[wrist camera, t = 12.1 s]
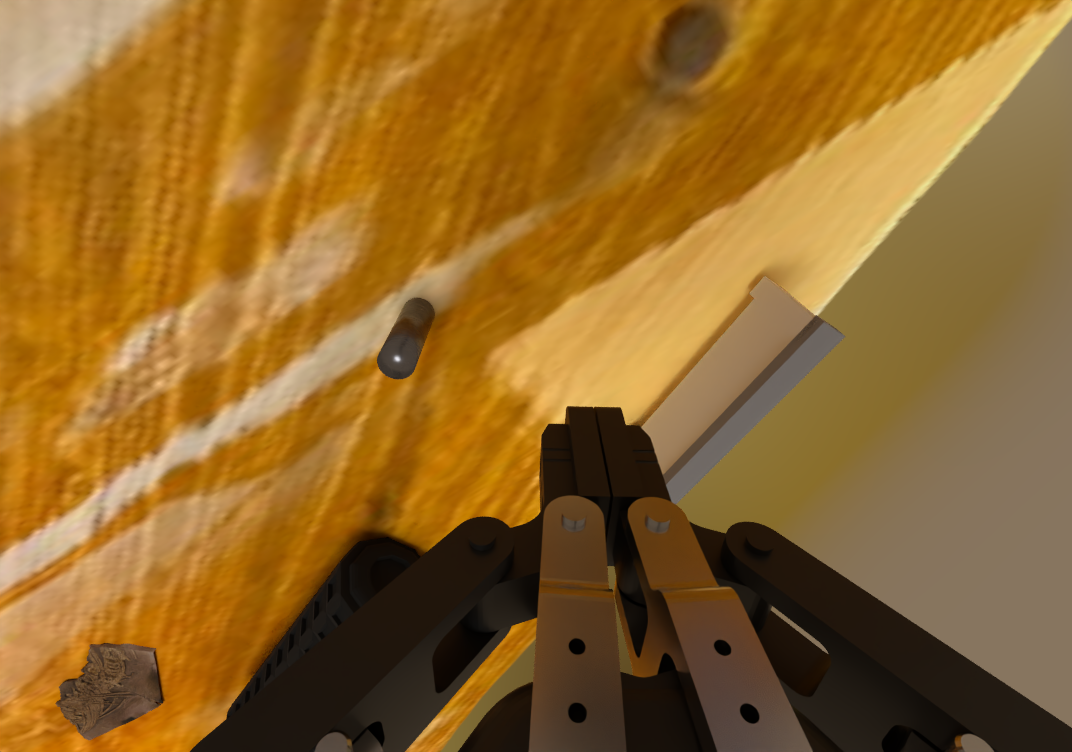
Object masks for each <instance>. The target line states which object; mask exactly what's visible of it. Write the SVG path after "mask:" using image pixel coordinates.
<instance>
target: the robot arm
mask: <svg viewBox="0 0 1072 752" xmlns="http://www.w3.org/2000/svg"><path fill="white" fill-rule="evenodd" d="M539 478H540V511H541V512H540V513H539V515H538V516H537V517H536V518H534V519H533V520H531V521H530V522H528V523H526V524H523V525H520V526H516V527H512V528H510V527H509V526H508V525H507V524H506V523H504V522H503V521H501V520H499V519H496V518H492V517H476V518H472V519H469V520H467V521H465V522H463V523H462V524H460V525H459V526H458V527H456V528H455V529H454V530H453V531H452V532H450V533H449V534H448V535H447V536H446V537H444V538H443V539H442V540H441V541H440V542H438V543H437V544H436V545H435V546H434V547H432V548H431V549H430V550H429V551H428V552H426V553H425V554H424V555H423V556H422V557H420V558H419V559H418V560H417V561H416V562H414V563H413V564H412V565H411V566H410V567H408V568H407V569H406V570H405V571H404V572H402V573H401V574H400V575H399V576H398V577H396V578H395V579H394V580H393V581H392V582H390V583H389V584H388V585H387V586H386V587H384V588H383V589H382V590H381V591H380V592H378V593H377V594H376V595H375V596H374V597H372V598H371V599H370V600H369V601H368V602H367V603H365V604H364V605H363V606H362V607H361V608H359V609H358V610H357V611H356V612H355V613H353V614H352V615H351V616H350V617H349V618H347V619H346V620H345V621H344V622H343V623H341V624H340V625H339V626H338V627H337V628H335V629H334V630H333V631H332V632H331V633H329V634H328V635H327V636H326V637H325V638H323V639H322V640H321V641H320V642H319V643H317V644H316V645H315V646H314V647H313V648H311V649H310V650H309V651H308V652H307V653H305V654H304V655H303V656H302V657H301V658H299V659H298V660H297V661H296V662H295V663H293V664H292V665H291V666H290V667H289V668H287V669H286V670H285V671H284V672H283V673H281V674H280V675H279V676H278V677H277V678H275V679H274V680H273V681H272V682H271V683H269V684H268V685H267V686H266V687H265V688H263V689H262V690H261V691H260V692H259V693H257V694H256V695H255V696H254V697H253V698H251V699H250V700H249V701H248V702H247V703H245V704H244V705H243V706H242V707H241V708H239V709H238V710H237V711H236V712H235V713H233V714H232V715H231V716H230V717H229V718H227V719H226V720H225V721H224V722H223V723H221V724H220V725H219V726H218V727H217V728H215V729H214V730H213V731H212V732H211V733H209V734H208V735H207V736H206V737H205V738H203V739H202V740H201V741H200V742H199V743H198V744H197V745H196V746H195V747H194V748H193V749H192V750H191V751H190V752H405V751H406V750H407V749H408V748H409V746H410V745H411V744H412V743H413V742H414V741H415V740H416V738H417V737H418V736H419V735H420V734H421V733H422V731H423V730H424V729H425V728H426V727H427V726H428V725H429V723H430V722H431V721H432V720H433V719H434V718H435V717H436V715H437V714H438V713H439V712H440V711H441V710H442V709H443V707H444V706H445V705H446V704H447V703H448V702H449V701H450V699H451V698H452V697H453V696H454V695H455V694H456V693H457V691H458V690H459V689H460V688H461V687H462V686H463V685H464V683H465V682H466V681H467V680H468V679H469V678H470V677H471V675H472V674H473V673H474V672H475V671H476V670H477V669H478V667H479V666H480V665H481V664H482V663H483V662H484V661H485V659H486V658H487V657H488V656H489V655H490V654H491V653H492V651H493V650H494V649H495V648H496V647H497V646H498V645H499V643H500V642H501V641H502V640H503V639H504V638H505V637H506V635H507V634H508V633H509V631H510V629H511V626H512V625H516V624H519V623H522V622H525V621H528V620H531V619H534V618H537V630H536V645H535V661H534V677H533V682H531V683H528V684H526V685H524V686H521V687H519V688H517V689H515V690H514V691H512V692H511V693H509V694H507V695H506V696H505V697H504V698H502V699H501V700H500V701H499V702H498V703H496V704H495V706H493V707H492V708H491V709H490V711H489V712H488V713H487V714H486V715H485V716H484V717H483V719H482V720H481V721H480V723H479V724H478V725H477V727H476V728H475V729H474V731H473V732H472V733H471V735H470V736H469V737H468V739H467V740H466V741H465V743H464V744H463V746H462V747H461V748H460V750H459V751H458V752H1072V728H1071V727H1069V726H1068V725H1067V724H1065V723H1064V722H1062V721H1061V720H1059V719H1058V718H1056V717H1055V716H1053V715H1052V714H1050V713H1049V712H1047V711H1045V710H1044V709H1043V708H1041V707H1040V706H1038V705H1037V704H1035V703H1034V702H1032V701H1030V700H1029V699H1027V698H1026V697H1024V696H1023V695H1021V694H1020V693H1018V692H1017V691H1015V690H1014V689H1012V688H1011V687H1009V686H1008V685H1006V684H1005V683H1003V682H1002V681H1000V680H999V679H997V678H996V677H994V676H993V675H991V674H989V673H988V672H987V671H985V670H984V669H982V668H981V667H979V666H978V665H976V664H975V663H973V662H972V661H970V660H969V659H967V658H966V657H964V656H963V655H961V654H959V653H958V652H957V651H955V650H954V649H952V648H951V647H949V646H948V645H946V644H944V643H943V642H942V641H940V640H938V639H937V638H936V637H934V636H933V635H931V634H929V633H928V632H927V631H925V630H923V629H922V628H920V627H919V626H917V625H916V624H914V623H913V622H911V621H910V620H908V619H907V618H905V617H904V616H902V615H901V614H899V613H898V612H896V611H895V610H893V609H892V608H890V607H889V606H887V605H886V604H884V603H883V602H881V601H880V600H878V599H877V598H875V597H874V596H872V595H871V594H869V593H868V592H866V591H865V590H863V589H862V588H860V587H859V586H857V585H856V584H854V583H853V582H851V581H850V580H848V579H847V578H845V577H844V576H842V575H841V574H839V573H838V572H836V571H835V570H833V569H832V568H830V567H828V566H827V565H826V564H824V563H822V562H821V561H819V560H818V559H817V558H815V557H813V556H812V555H810V554H809V553H807V552H806V551H804V550H803V549H801V548H800V547H798V546H797V545H795V544H794V543H792V542H791V541H789V540H788V539H786V538H785V537H783V536H782V535H780V534H779V533H777V532H776V531H774V530H773V529H771V528H769V527H767V526H765V525H762V524H759V523H754V522H739V523H736V524H734V525H732V526H731V527H730V528H729V529H728V531H727V533H726V534H725V533H721V532H718V531H714V530H710V529H706V528H703V527H700V526H697V525H695V524H693V523H691V522H689V521H688V519H687V517H686V515H685V513H684V512H683V511H682V509H680V508H679V507H678V506H677V505H675V504H674V503H672V501H671V498H670V495H669V492H668V489H667V486H666V483H665V480H664V477H663V474H662V471H661V468H660V465H659V464H658V459H657V456H656V453H655V450H654V447H653V444H652V441H651V438H650V436H649V435H648V434H647V433H646V432H645V431H644V430H643V429H642V428H641V427H640V426H635V425H626V424H625V421H624V417H623V413H622V410H621V408H620V407H594V409H593V407H573V406H567V408H566V418H565V424H548V426H547V427H546V429H545V431H544V432H543V434H542V438H541V457H540V475H539ZM607 566H614V567H615V573H616V581H615V587H614V593H613V590H612V589H609V582H608V568H607ZM614 596H615V599H614ZM615 600H616V604H617V609H618V612H619V616H620V621H621V625H622V629H623V632H624V636H625V641H626V644H627V649H628V653H629V657H630V661H631V665H632V671H633V675H630V674H626V673H623V672H620V662H619V650H618V636H617V623H616V611H615ZM772 606H773V607H775V608H776V609H777V610H778V611H780V612H781V613H782V614H784V615H785V616H786V617H788V618H789V619H790V620H792V621H793V622H794V623H796V624H797V625H798V626H799V627H801V628H802V629H803V630H804V631H806V632H807V633H809V634H810V635H811V636H813V637H814V638H815V639H816V640H818V641H819V642H820V643H821V644H822V645H823V646H824V647H825V648H826V650H827V651H828V653H829V654H827V653H825V652H824V651H822V650H821V649H820V648H819V647H817V646H816V645H815V644H813V643H812V642H811V641H810V640H808V639H807V638H806V637H804V636H803V635H802V634H801V633H799V632H798V631H796V630H795V629H794V628H793V627H792V626H790V625H789V624H788V623H786V622H785V621H784V620H783V619H781V618H780V617H779V616H777V615H776V614H775V613H774V612H772V611H771V608H772Z"/></svg>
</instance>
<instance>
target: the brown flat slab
mask: <svg viewBox="0 0 1072 752" xmlns="http://www.w3.org/2000/svg"><path fill="white" fill-rule="evenodd" d="M89 646H90V648H91V649H90V650H89V655H88V657H87V661H89V663H87V665H86V666H85V667H84V668H83V669H82V670H81V671H82V672H84V673H85V674H84V675H82V676H80V677H79V678H78V679H72V680H70V681H65V682H64V683H62V684H61V686H59V688H60V691H61V692H60V693H61V701H58V702H57V703H56V705H57V706H58V707H60V708H61V711H62V713H63V714H64V717H65V718H66V719H68V720H70V722H71V723H72V724H73V725H74V724H75V725H76V727H77V730H78V732H79V733H80V734H81V735H82V736H83V737H84V738H85V739H88V740H91V739H93V738H95V737H97V736H100V735H102V734H104V733H106V732H108V731H110V730H112V729H114V728H116V727H119V726H121V725H124V724H126V723H128V722H130V721H132V720H134V719H136V718H138V717H140V716H142V715H144V714H146V713H147V712H148V711H150V710H151V711H152V710H153V709H155V708H157V707H158V706H160V705H161V704H162V703H163V701H162V700H161V695H160V688H159V682H158V674H157V666H156V662H155V658H154V654H153V653H154V651H155V650H156V648H149V647H143V646H137V645H132V644H121V645H116V644H107V643H106V644H103V645H102V644H101V645H95V644H94V645H89ZM155 702H159V703H161V704H160V705H159V704H157V703H155Z"/></svg>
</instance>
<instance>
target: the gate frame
mask: <svg viewBox="0 0 1072 752" xmlns="http://www.w3.org/2000/svg"><path fill="white" fill-rule="evenodd" d="M434 315H435V313H434V309H433V307H432V305H431V304H430V303H429V302H428V301H426V300H424V299H421V298H414V299H411V300H409V301H407V302H406V304H405V305H404V307H403V309H402V311H401V313H400V315H399V317H398V318H397V320H396V322H395V324H394V326H393V328H392V330H391V332H390V334H389V336H388V338H387V339H386V341H385V343H384V345H383V347H382V349H381V351H380V353H379V355H378V358H377V363H378V367H379V369H380V370H381V371H382V373H384V374H385V375H386V376H388V377H390V378H393V379H404V378H407V377H409V376H410V375H411V374H412V373H413V372H414V370H415V367H416V364H417V362H418V359H419V356H420V354H421V351H422V348H423V346H424V343H425V340H426V338H427V335H428V332H429V330H430V327H431V325H432V322H433V319H434Z"/></svg>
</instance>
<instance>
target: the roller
mask: <svg viewBox="0 0 1072 752" xmlns="http://www.w3.org/2000/svg"><path fill="white" fill-rule="evenodd" d="M419 558H420V556H419V554H418V553H417V552H416V550H415V549H413V548H410V547H408V546H406V545H403V544H401V543H399V542H397V541H394V540H392V539H390V538H388V537H387V538H380V539H374V540H367V541H360V542H359V543H357V544H356V545H355V546H354V547H353V548H352V549H351V550H350V551H349V552H348V553H347V554H346V556H345V557H344V558H343V559H342V560H341V561H340V563H339V564H338V565H337V566H336V568H335V569H334V570H333V572H332V573H331V575H330V576H329V577H328V578H327V580H326V581H325V582H324V584H323V585H322V586H321V588H320V589H319V590H318V592H317V593H316V594H315V596H314V597H313V598H312V599H311V601H310V602H309V603H308V605H307V606H306V608H305V609H304V610H303V612H302V613H301V614H300V615H299V617H298V618H297V619H296V621H295V622H294V624H293V625H292V626H291V627H290V629H289V630H288V631H287V633H286V634H285V635H284V636H283V638H282V640H281V641H280V642H279V643H278V644H277V646H276V647H275V648H274V650H273V651H272V652H271V654H270V655H269V656H268V658H267V659H266V660H265V662H264V663H263V664H262V666H261V667H260V668H259V670H258V671H257V672H256V673H255V675H254V676H253V677H252V679H251V680H250V682H249V683H248V684H247V685H246V687H245V688H244V689H243V691H242V692H241V694H240V695H239V696H238V697H237V699H236V700H235V701H234V702H233V704H232V705H231V707H230V709H229V710H228V712H227V718H229V717H230V716H231V715H232V714H233V713H235V712H236V711H237V710H238V709H239V708H241V707H242V706H243V705H244V704H245V703H247V702H248V701H249V700H250V699H251V698H253V697H254V696H255V695H256V694H257V693H259V692H260V691H261V690H262V689H263V688H265V687H266V686H267V685H268V684H269V683H271V682H272V681H273V680H274V679H275V678H277V677H278V676H279V675H280V674H281V673H283V672H284V671H285V670H286V669H287V668H289V667H290V666H291V665H292V664H293V663H295V662H296V661H297V660H298V659H299V658H301V657H302V656H303V655H304V654H305V653H307V652H308V651H309V650H310V649H311V648H313V647H314V646H315V645H316V644H317V643H319V642H320V641H321V640H322V639H323V638H325V637H326V636H327V635H328V634H329V633H331V632H332V631H333V630H334V629H335V628H337V627H338V626H339V625H340V624H341V623H343V622H344V621H345V620H346V619H347V618H349V617H350V616H351V615H352V614H353V613H355V612H356V611H357V610H358V609H359V608H361V607H362V606H363V605H364V604H365V603H367V602H368V601H369V600H370V599H371V598H372V597H374V596H375V595H376V594H377V593H378V592H380V591H381V590H382V589H383V588H384V587H386V586H387V585H388V584H389V583H390V582H392V581H393V580H394V579H395V578H396V577H398V576H399V575H400V574H401V573H402V572H404V571H405V570H406V569H407V568H408V567H410V566H411V565H412V564H413V563H414V562H416V561H417V560H418V559H419Z"/></svg>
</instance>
